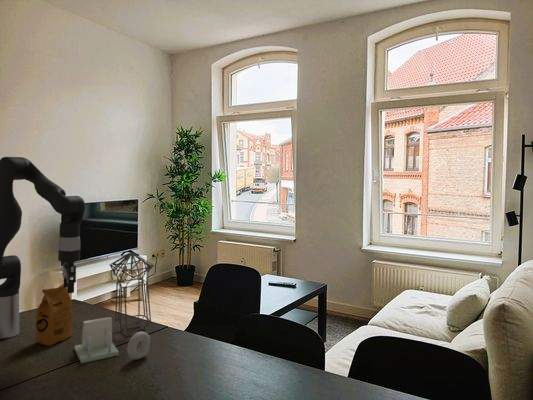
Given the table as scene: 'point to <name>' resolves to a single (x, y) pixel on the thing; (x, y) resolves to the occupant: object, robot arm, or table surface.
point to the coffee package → (54, 316)
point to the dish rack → (95, 349)
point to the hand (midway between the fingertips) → (68, 290)
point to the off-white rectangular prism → (97, 331)
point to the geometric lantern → (131, 286)
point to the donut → (134, 342)
